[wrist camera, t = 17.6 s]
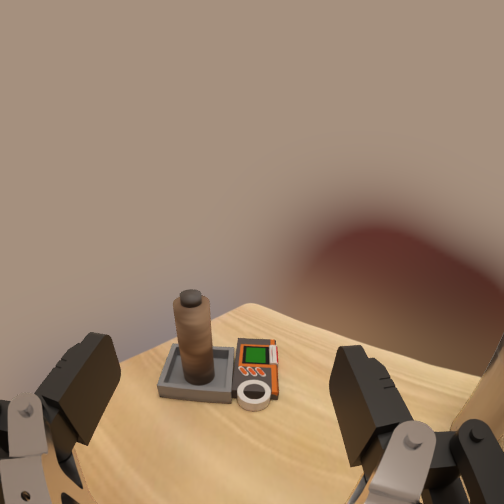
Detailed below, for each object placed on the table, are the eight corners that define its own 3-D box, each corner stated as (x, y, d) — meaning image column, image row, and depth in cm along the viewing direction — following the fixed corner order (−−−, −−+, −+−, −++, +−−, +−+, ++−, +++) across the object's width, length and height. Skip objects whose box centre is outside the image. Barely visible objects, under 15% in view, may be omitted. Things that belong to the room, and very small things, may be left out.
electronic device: (230, 401, 32) (238, 335, 46) (230, 413, 33) (238, 347, 47) (281, 403, 32) (277, 336, 46) (278, 415, 33) (275, 349, 47)
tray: (234, 358, 44) (234, 347, 43) (231, 403, 34) (231, 392, 33) (174, 354, 44) (172, 343, 43) (159, 396, 34) (156, 385, 33)
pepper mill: (216, 365, 41) (211, 287, 36) (212, 386, 36) (205, 304, 32) (187, 363, 41) (177, 285, 36) (181, 383, 36) (167, 302, 32)
